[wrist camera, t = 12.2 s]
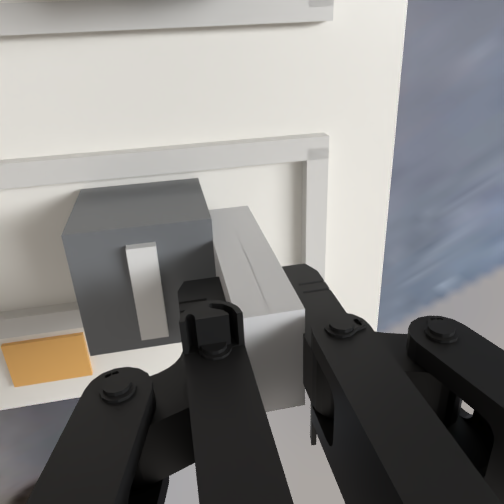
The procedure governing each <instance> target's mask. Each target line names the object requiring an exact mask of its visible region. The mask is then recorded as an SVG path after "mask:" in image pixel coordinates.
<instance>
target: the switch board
mask: <svg viewBox="0 0 504 504" xmlns="http://www.w3.org/2000/svg"><path fill="white" fill-rule="evenodd" d="M407 4H408V0H0V410H5V409H11V408H17V407H23V406H29V405H35V404H41V403H47V402H53V401H59V400H66V399H72V398H78V397H81V395H82V394H83V392H84V390H85V388H86V387H87V386H88V385H89V383H90V382H91V381H92V380H93V379H95V378H96V377H98V376H99V375H100V374H102V373H104V372H107V371H109V370H112V369H115V368H122V367H133V368H139V369H141V370H143V371H145V372H147V373H148V374H149V376H152V375H154V374H157V373H159V372H161V371H163V370H165V369H167V368H169V367H170V366H171V365H173V364H174V363H175V362H176V361H177V360H178V359H179V358H180V356H181V354H182V352H183V348H182V342H180V343H174V344H167V345H161V346H154V347H148V348H141V349H134V350H128V351H121V352H115V353H108V354H101V355H95V356H90V353H89V349H88V344H87V340H86V336H85V332H84V328H83V324H82V320H81V315H80V311H79V307H78V303H77V299H76V295H75V291H74V287H73V282H72V278H71V274H70V270H69V266H68V262H67V258H66V253H65V249H64V245H63V241H62V237H61V235H62V232H63V230H64V227H65V225H66V223H67V220H68V218H69V216H70V213H71V211H72V209H73V206H74V204H75V201H76V199H77V197H78V194H79V192H80V190H81V189H88V188H98V187H109V186H119V185H129V184H140V183H150V182H160V181H171V180H181V179H191V178H198V179H199V182H200V185H201V188H202V191H203V195H204V198H205V201H206V204H207V207H208V210H213V209H222V208H230V207H239V206H248V207H249V209H250V211H251V212H252V214H253V216H254V218H255V220H256V221H257V223H258V225H259V227H260V229H261V230H262V232H263V234H264V236H265V238H266V239H267V241H268V243H269V245H270V247H271V248H272V250H273V252H274V254H275V256H276V257H277V259H278V261H279V263H280V265H281V267H282V266H289V265H296V264H304V263H305V264H307V265H309V266H310V267H312V268H314V269H315V270H317V271H318V272H319V274H320V275H321V277H322V278H323V279H324V282H326V284H327V285H328V287H329V290H331V291H332V292H333V294H334V295H335V297H336V298H337V300H338V301H339V302H340V304H341V305H342V307H343V308H344V310H345V311H346V313H349V314H354V315H356V316H359V317H361V318H363V319H364V320H365V321H366V322H367V323H369V324H370V326H371V327H372V328H373V330H374V331H375V332H377V322H378V311H379V301H380V290H381V279H382V269H383V258H384V248H385V237H386V226H387V216H388V205H389V195H390V184H391V173H392V163H393V152H394V142H395V131H396V120H397V110H398V99H399V89H400V78H401V67H402V57H403V46H404V35H405V25H406V14H407Z"/></svg>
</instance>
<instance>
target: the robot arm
mask: <svg viewBox="0 0 504 504" xmlns="http://www.w3.org/2000/svg"><path fill="white" fill-rule="evenodd" d="M209 213H210V216H211V219H212V231H213V248H214V258H215V269H216V277H211V278H204V279H197V280H190V281H184V282H183V283H182V285H181V287H180V288H179V290H178V291H177V293H178V302H179V311H180V319H179V327H180V334H181V341H182V348H183V352H182V354H181V356H180V358H179V359H178V360H177V361H176V362H175V363H174V364H173V365H171V366H170V367H169V368H167V369H165V370H163V371H161V372H159V373H157V374H154V375H152V376H149V374H148V373H147V372H145V371H143V370H141V369H139V368H133V367H122V368H115V369H112V370H109V371H107V372H104V373H102V374H100V375H99V376H98V377H96V378H95V379H93V380H92V381H91V382H90V383H89V385H88V386H87V387H86V388H85V390H84V392H83V394H82V395H81V397H80V399H79V401H78V403H77V405H76V407H75V409H74V411H73V413H72V415H71V417H70V419H69V421H68V423H67V425H66V427H65V429H64V431H63V433H62V434H61V436H60V438H59V440H58V442H57V444H56V446H55V448H54V450H53V452H52V454H51V456H50V458H49V460H48V462H47V464H46V466H45V468H44V470H43V471H42V473H41V475H40V477H39V479H38V481H37V483H36V485H35V487H34V489H33V491H32V493H31V495H30V497H29V499H28V501H27V503H26V504H164V502H165V498H166V493H167V489H168V485H169V475H172V474H174V473H176V472H177V471H179V470H181V469H183V468H185V467H187V466H189V465H191V464H193V463H195V466H196V476H197V485H198V493H199V503H200V504H293V500H292V497H291V494H290V490H289V487H288V484H287V481H286V478H285V474H284V471H283V467H282V464H281V461H280V458H279V455H278V451H277V448H276V445H275V441H274V438H273V435H272V432H271V428H270V426H269V422H268V419H267V415H266V412H269V411H274V410H279V409H285V408H290V407H295V406H301V405H305V389H306V391H307V394H308V396H309V398H310V401H311V430H310V438H311V445H316V434H317V435H318V438H319V440H320V443H321V445H322V447H323V450H324V452H325V455H326V457H327V460H328V462H329V464H330V467H331V469H332V472H333V474H334V477H335V479H336V482H337V484H338V486H339V489H340V491H341V494H342V496H343V499H344V501H345V504H504V350H502V349H501V348H499V347H498V346H496V345H495V344H493V343H492V342H490V341H489V340H487V339H485V338H484V337H482V336H481V335H479V334H478V333H476V332H474V331H473V330H471V329H470V328H468V327H467V326H465V325H463V324H462V323H460V322H457V321H455V320H453V319H450V318H446V317H442V316H425V317H420V318H417V319H416V320H414V321H412V322H411V324H410V326H409V328H408V334H394V333H381V332H375V331H374V330H373V328H372V327H371V326H370V324H369V323H367V322H366V321H365V320H364V319H363V318H361V317H359V316H356V315H354V314H349V313H346V311H345V310H344V308H343V307H342V305H341V304H340V302H339V301H338V300H337V298H336V297H335V295H334V294H333V292H332V291H331V290H329V287H328V285H327V284H326V282H324V279H323V278H322V277H321V275H320V274H319V272H318V271H317V270H315V269H314V268H312V267H310V266H309V265H307V264H305V263H304V264H296V265H289V266H282V267H281V265H280V263H279V261H278V259H277V257H276V256H275V254H274V252H273V250H272V248H271V247H270V245H269V243H268V241H267V239H266V238H265V236H264V234H263V232H262V230H261V229H260V227H259V225H258V223H257V221H256V220H255V218H254V216H253V214H252V212H251V211H250V209H249V207H248V206H239V207H230V208H222V209H213V210H209ZM462 400H463V401H464V402H466V403H467V404H468V405H469V406H470V407H472V408H473V409H474V413H473V415H471V414H469V413H467V412H466V411H465V410H463V409H462V408H461V403H462Z"/></svg>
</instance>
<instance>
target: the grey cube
mask: <svg viewBox="0 0 504 504" xmlns="http://www.w3.org/2000/svg"><path fill="white" fill-rule="evenodd" d="M61 237H62V241H63V245H64V249H65V253H66V258H67V262H68V266H69V270H70V274H71V278H72V282H73V287H74V291H75V295H76V299H77V303H78V307H79V311H80V315H81V320H82V324H83V328H84V332H85V336H86V340H87V344H88V349H89V353H90V356H95V355H101V354H108V353H115V352H121V351H128V350H134V349H141V348H148V347H154V346H161V345H167V344H174V343H180V342H182V341H181V334H180V327H179V319H180V311H179V302H178V293H177V291H178V290H179V288H180V287H181V285H182V283H183V282H184V281H190V280H197V279H204V278H211V277H216V269H215V258H214V248H213V231H212V219H211V216H210V213H209V210H208V207H207V204H206V201H205V198H204V195H203V191H202V188H201V185H200V182H199V179H198V178H191V179H181V180H171V181H160V182H150V183H140V184H129V185H119V186H109V187H98V188H88V189H81V190H80V192H79V194H78V197H77V199H76V201H75V204H74V206H73V209H72V211H71V213H70V216H69V218H68V220H67V223H66V225H65V227H64V230H63V232H62V235H61Z"/></svg>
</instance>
